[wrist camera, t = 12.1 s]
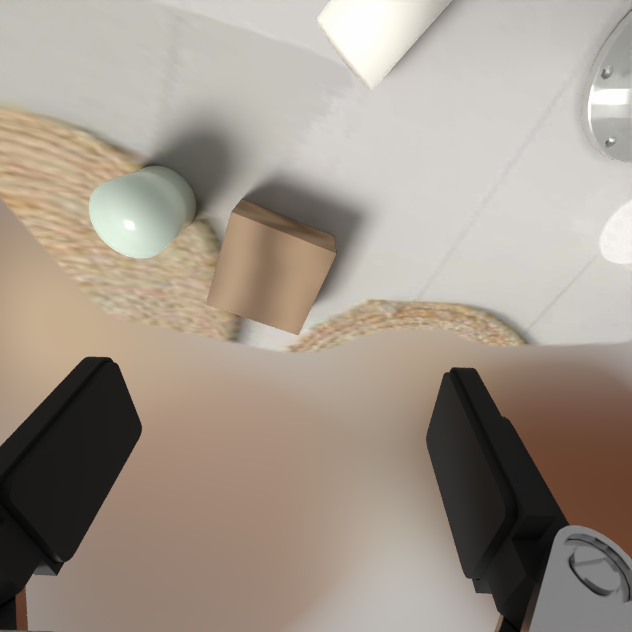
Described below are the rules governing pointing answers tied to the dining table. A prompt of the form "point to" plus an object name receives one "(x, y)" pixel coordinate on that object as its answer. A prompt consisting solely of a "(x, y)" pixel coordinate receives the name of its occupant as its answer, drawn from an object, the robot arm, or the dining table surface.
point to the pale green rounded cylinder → (142, 210)
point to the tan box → (270, 267)
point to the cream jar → (376, 32)
